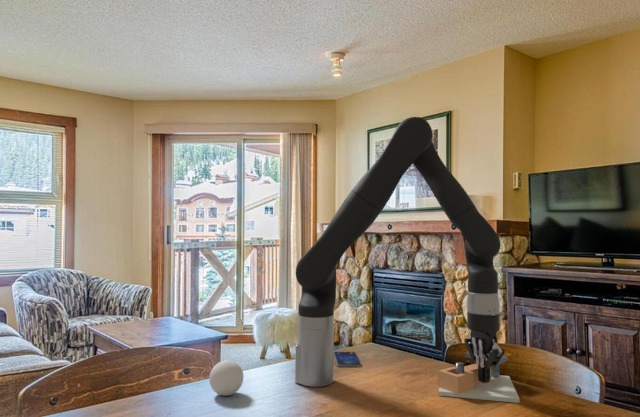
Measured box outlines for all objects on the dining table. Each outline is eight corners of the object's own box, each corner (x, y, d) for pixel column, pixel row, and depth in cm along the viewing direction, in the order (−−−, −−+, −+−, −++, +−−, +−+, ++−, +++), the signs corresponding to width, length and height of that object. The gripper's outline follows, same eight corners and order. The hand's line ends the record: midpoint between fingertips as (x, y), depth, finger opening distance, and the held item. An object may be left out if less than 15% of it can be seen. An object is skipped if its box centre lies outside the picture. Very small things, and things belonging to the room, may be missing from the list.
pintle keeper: (455, 393, 115) (455, 364, 116) (454, 373, 131) (453, 348, 131) (514, 398, 112) (514, 368, 112) (505, 378, 127) (505, 351, 128)
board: (438, 395, 114) (438, 391, 114) (438, 374, 130) (438, 370, 130) (519, 402, 109) (519, 398, 109) (509, 379, 126) (509, 376, 126)
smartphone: (355, 351, 151) (362, 365, 136) (355, 354, 151) (362, 368, 136) (332, 351, 151) (336, 365, 136) (332, 354, 151) (336, 368, 136)
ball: (233, 402, 108) (234, 367, 109) (202, 398, 111) (203, 363, 111) (248, 391, 116) (249, 357, 116) (219, 387, 118) (220, 355, 119)
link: (476, 376, 126) (476, 360, 126) (496, 382, 121) (496, 366, 121) (438, 387, 117) (438, 370, 117) (458, 394, 112) (457, 376, 112)
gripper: (454, 307, 122) (455, 375, 122) (487, 316, 110) (488, 392, 109) (479, 305, 125) (480, 372, 124) (514, 314, 112) (515, 389, 111)
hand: (484, 381), depth 117 cm, fingers closed
